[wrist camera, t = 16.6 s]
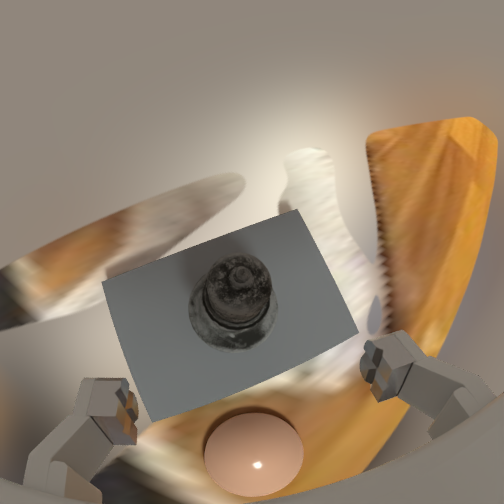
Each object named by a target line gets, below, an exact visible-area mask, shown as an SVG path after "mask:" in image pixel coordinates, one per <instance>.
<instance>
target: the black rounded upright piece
mask: <svg viewBox="0 0 504 504" xmlns="http://www.w3.org/2000/svg"><path fill="white" fill-rule="evenodd" d="M188 311H189V319H190V322H191V324H192V327H193V329H194V331H195V332H196V334H197V335H198V336H199V338H200V339H201V340H202V341H204V342H205V343H206V344H207V345H208V346H210V347H212V348H214V349H216V350H219V351H222V352H228V353H239V352H246V351H248V350H251V349H253V348H256V347H257V346H259V345H260V344H261V343H263V342H264V341H265V340H266V339H267V338H268V336H269V335H270V334H271V333H272V331H273V329H274V326H275V324H276V322H277V316H278V303H277V297H276V295H275V292H274V290H273V288H272V281H271V276H270V274H269V271H268V269H267V268H266V266H265V265H264V264H263V263H262V262H261V261H260V260H259V259H257V258H256V257H254V256H252V255H250V254H246V253H241V252H238V253H230V254H227V255H224V256H223V257H221V258H220V259H218V260H217V261H216V262H215V263H214V264H213V266H212V267H211V269H210V271H209V272H208V273H206V274H205V275H203V276H202V277H201V278H200V280H199V281H198V282H197V283H196V284H195V286H194V288H193V290H192V292H191V294H190V299H189V304H188Z"/></svg>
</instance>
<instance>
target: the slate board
mask: <svg viewBox="0 0 504 504" xmlns="http://www.w3.org/2000/svg"><path fill="white" fill-rule="evenodd" d="M238 252H241V253H246V254H250V255H252V256H254V257H256V258H257V259H259V260H260V261H261V262H262V263H263V264H264V265H265V266H266V268H267V269H268V271H269V274H270V276H271V281H272V288H273V290H274V292H275V295H276V297H277V303H278V316H277V322H276V324H275V326H274V329H273V331H272V333H271V334H270V335H269V336H268V338H267V339H266V340H265V341H264V342H263V343H261V344H260V345H259V346H257V347H256V348H253V349H251V350H248V351H246V352H239V353H228V352H222V351H219V350H216V349H214V348H212V347H210V346H208V345H207V344H206V343H205V342H204V341H202V340H201V339H200V338H199V336H198V335H197V334H196V332H195V331H194V329H193V327H192V324H191V322H190V319H189V311H188V304H189V299H190V294H191V292H192V290H193V288H194V286H195V284H196V283H197V282H198V281H199V280H200V278H201V277H202V276H203V275H205V274H206V273H208V272H209V271H210V269H211V267H212V266H213V264H214V263H215V262H216V261H217V260H218V259H220V258H221V257H223V256H224V255H227V254H230V253H238ZM102 285H103V289H104V293H105V296H106V300H107V304H108V307H109V310H110V314H111V317H112V320H113V323H114V327H115V330H116V333H117V336H118V339H119V342H120V345H121V348H122V350H123V353H124V356H125V359H126V361H127V364H128V366H129V369H130V372H131V374H132V377H133V379H134V382H135V384H136V387H137V389H138V392H139V394H140V396H141V398H142V401H143V403H144V406H145V407H146V410H147V412H148V414H149V417H150V419H151V421H152V422H155V421H159V420H162V419H165V418H168V417H172V416H175V415H178V414H181V413H184V412H187V411H190V410H192V409H195V408H198V407H201V406H204V405H206V404H209V403H212V402H214V401H217V400H220V399H222V398H225V397H227V396H230V395H232V394H235V393H237V392H240V391H242V390H245V389H247V388H249V387H252V386H254V385H256V384H259V383H261V382H263V381H265V380H268V379H270V378H272V377H274V376H276V375H279V374H281V373H283V372H285V371H287V370H289V369H291V368H293V367H296V366H298V365H300V364H302V363H304V362H306V361H308V360H310V359H312V358H314V357H316V356H317V355H319V354H321V353H323V352H325V351H327V350H329V349H331V348H333V347H334V346H336V345H338V344H340V343H342V342H344V341H345V340H347V339H349V338H351V337H352V336H354V335H356V334H358V333H359V331H358V329H357V327H356V325H355V323H354V320H353V318H352V316H351V314H350V312H349V310H348V308H347V306H346V303H345V301H344V299H343V297H342V295H341V293H340V291H339V289H338V287H337V285H336V283H335V281H334V279H333V277H332V275H331V273H330V271H329V269H328V267H327V265H326V263H325V261H324V259H323V257H322V255H321V253H320V251H319V249H318V247H317V245H316V243H315V241H314V239H313V238H312V236H311V234H310V232H309V230H308V228H307V226H306V224H305V222H304V221H303V219H302V217H301V215H300V213H299V211H298V210H297V209H295V210H293V211H290V212H287V213H284V214H281V215H278V216H276V217H273V218H270V219H267V220H264V221H262V222H259V223H256V224H253V225H250V226H248V227H245V228H242V229H239V230H237V231H234V232H231V233H228V234H226V235H223V236H220V237H218V238H215V239H212V240H209V241H207V242H204V243H201V244H199V245H196V246H193V247H191V248H188V249H185V250H183V251H180V252H177V253H175V254H172V255H170V256H167V257H164V258H162V259H159V260H156V261H154V262H151V263H149V264H146V265H143V266H141V267H138V268H136V269H133V270H131V271H128V272H126V273H123V274H120V275H118V276H115V277H113V278H110V279H108V280H105V281H103V282H102Z"/></svg>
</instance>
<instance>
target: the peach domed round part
mask: <svg viewBox="0 0 504 504" xmlns="http://www.w3.org/2000/svg"><path fill="white" fill-rule="evenodd" d="M303 454H304V453H303V446H302V442H301V440H300V437H299V436H298V434H297V433H296V431H295V430H294V429H293V428H292V427H291V426H290V425H289V424H288V423H286V422H285V421H284V420H282V419H280V418H278V417H276V416H273V415H270V414H266V413H245V414H240V415H237V416H234V417H232V418H230V419H228V420H226V421H224V422H223V423H221V424H220V425H219V426H218V427H217V428H216V429H215V430H214V431H213V432H212V434H211V435H210V437H209V439H208V441H207V444H206V448H205V453H204V460H205V465H206V469H207V471H208V473H209V475H210V476H211V478H212V479H213V480H214V481H215V482H216V483H217V484H218V485H219V486H220V487H222V488H223V489H225V490H226V491H229V492H231V493H233V494H236V495H241V496H248V497H257V496H264V495H268V494H271V493H274V492H276V491H278V490H280V489H282V488H283V487H285V486H286V485H287V484H289V483H290V482H291V481H292V480H293V479H294V478H295V476H296V475H297V473H298V472H299V470H300V468H301V465H302V461H303Z"/></svg>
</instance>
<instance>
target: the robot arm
mask: <svg viewBox="0 0 504 504" xmlns="http://www.w3.org/2000/svg"><path fill="white" fill-rule="evenodd" d="M364 350H365V351H366V352H365V353H364V355H363V356H362V357H361V360H360V372H361V374H362V377H363V378H364V380H365V381H366V382H368V383H370V384H371V388H370V390H371V392H372V393H373V395H374V397H375V398H376V400H377V402H378V403H379V402H382V401H385V400H387V399H390V398H393V397H396V396H398V398H400V399H401V400H403V401H405V402H406V403H408V404H410V405H411V406H413V407H415V408H416V409H418V410H419V411H421V412H423V413H425V414H426V415H428V416H429V417H431V418H433V419H434V421H433V423H432V424H431V425H430V427H429V428H428V431H427V432H428V433H429V435H430V437H431V438H432V441H430V442H428V443H427V444H424V445H423V446H421V447H419V448H417V449H415V450H413V451H411V452H409V453H407V454H405V455H403V456H401V457H399V458H397V459H394V460H392V461H390V462H388V463H385V464H383V465H381V466H379V467H376V468H374V469H371V470H369V471H366V472H364V473H361V474H358V475H356V476H353V477H350V478H347V479H344V480H342V481H339V482H336V483H332V484H329V485H326V486H323V487H319V488H316V489H312V490H309V491H305V492H301V493H297V494H293V495H288V496H284V497H279V498H274V499H269V500H264V501H258V502H252V503H245V504H504V392H503V393H502V394H500V395H499V396H498V397H496V396H495V394H493V392H492V391H491V389H490V388H489V387H488V386H487V385H486V384H485V382H484V381H483V380H482V379H481V378H480V377H479V375H476V374H474V373H471V372H468V371H466V370H464V369H461V368H459V367H456V366H454V365H451V364H449V363H446V362H444V361H441V360H439V359H436V358H434V357H432V356H428V357H427V356H426V355H425V354H424V353H423V351H422V350H421V349H420V348H419V347H418V346H417V344H416V343H415V342H414V341H413V340H412V339H411V337H410V336H409V335H408V334H407V333H406V332H405V331H403V330H400V331H397V332H394V333H391V334H387V335H383V336H380V337H377V338H373V339H370V340H367V341H366V343H365V345H364ZM137 419H138V403H137V400H136V397H135V395H134V393H133V392H131V391H129V383H128V381H127V379H126V378H84V379H83V380H82V381H81V384H80V388H79V392H78V395H77V399H76V403H75V407H74V411H73V415H68V416H67V417H66V418H65V419H64V420H63V421H62V422H61V423H60V424H59V425H58V426H57V427H56V428H55V429H54V430H53V431H52V432H51V433H50V434H49V435H48V436H47V437H46V438H45V439H44V440H43V441H42V442H41V443H40V444H39V445H38V446H37V447H36V448H35V449H34V450H33V451H32V452H31V453H30V454H29V457H28V462H27V466H26V471H25V476H24V481H23V486H22V485H19V484H16V483H13V482H10V481H8V480H5V479H2V478H0V504H102V493H101V491H100V490H99V489H97V488H96V487H94V486H93V485H92V484H90V483H89V482H90V480H91V479H92V477H93V476H94V474H95V473H96V471H97V470H98V469H99V467H100V466H101V464H102V463H103V461H104V460H105V458H106V457H107V456H108V454H109V452H110V451H111V450H112V448H113V447H114V446H113V445H136V444H137V428H136V426H135V425H134V423H135V421H136V420H137Z"/></svg>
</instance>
